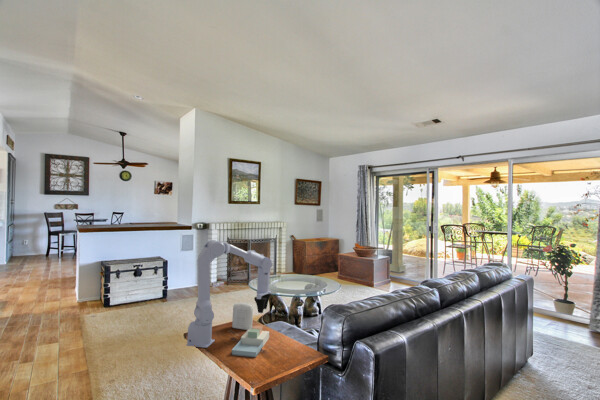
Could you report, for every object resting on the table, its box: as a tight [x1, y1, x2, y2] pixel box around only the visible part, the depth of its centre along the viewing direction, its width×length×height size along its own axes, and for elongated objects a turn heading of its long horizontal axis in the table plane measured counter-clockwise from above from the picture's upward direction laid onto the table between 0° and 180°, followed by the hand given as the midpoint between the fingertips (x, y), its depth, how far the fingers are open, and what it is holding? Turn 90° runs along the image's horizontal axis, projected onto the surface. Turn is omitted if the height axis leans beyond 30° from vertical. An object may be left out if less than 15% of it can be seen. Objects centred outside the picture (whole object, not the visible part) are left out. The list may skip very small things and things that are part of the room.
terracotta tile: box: [251, 324, 264, 334], centre depth 141 cm, size 4×4×2 cm
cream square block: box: [240, 329, 270, 347], centre depth 139 cm, size 10×10×3 cm
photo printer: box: [231, 301, 254, 331], centre depth 155 cm, size 10×4×12 cm, turn 75°
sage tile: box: [248, 329, 260, 338], centre depth 137 cm, size 4×4×2 cm
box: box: [231, 339, 264, 358], centre depth 129 cm, size 10×10×2 cm
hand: (262, 310), depth 150 cm, fingers open, 6 cm apart
